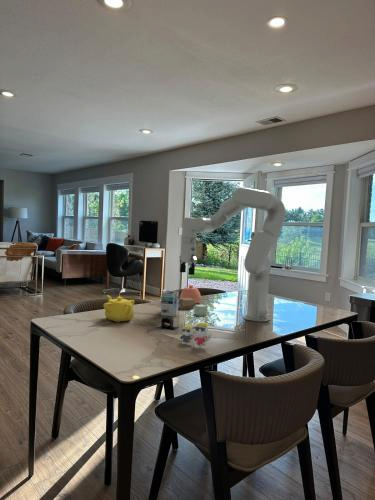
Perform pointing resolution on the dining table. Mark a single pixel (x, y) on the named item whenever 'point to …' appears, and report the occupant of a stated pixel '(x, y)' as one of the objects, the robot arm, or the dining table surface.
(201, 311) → the cube
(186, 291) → the sugar bowl
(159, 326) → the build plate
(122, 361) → the dining table surface
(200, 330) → the toy figures
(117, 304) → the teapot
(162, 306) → the light bulb box
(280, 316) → the dining table surface
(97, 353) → the dining table surface
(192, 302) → the block
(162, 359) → the dining table surface
